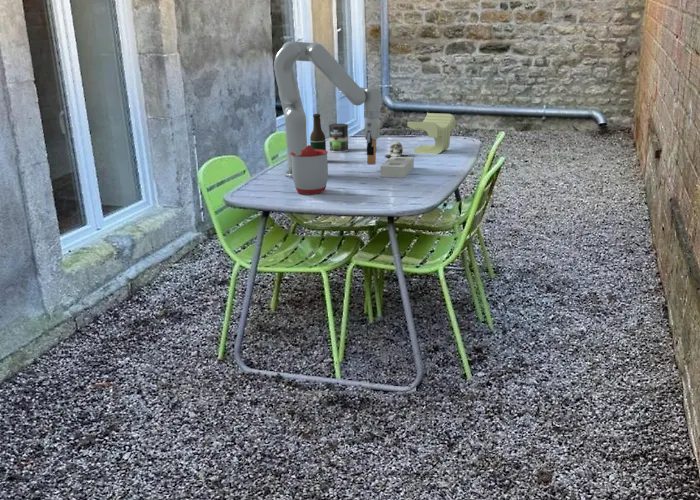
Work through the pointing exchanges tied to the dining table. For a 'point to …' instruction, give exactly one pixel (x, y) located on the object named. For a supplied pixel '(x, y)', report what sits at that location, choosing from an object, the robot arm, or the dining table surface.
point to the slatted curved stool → (435, 131)
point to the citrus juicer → (310, 170)
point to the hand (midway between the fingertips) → (371, 153)
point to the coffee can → (338, 137)
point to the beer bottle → (317, 135)
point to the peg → (372, 158)
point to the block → (397, 167)
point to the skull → (396, 150)
